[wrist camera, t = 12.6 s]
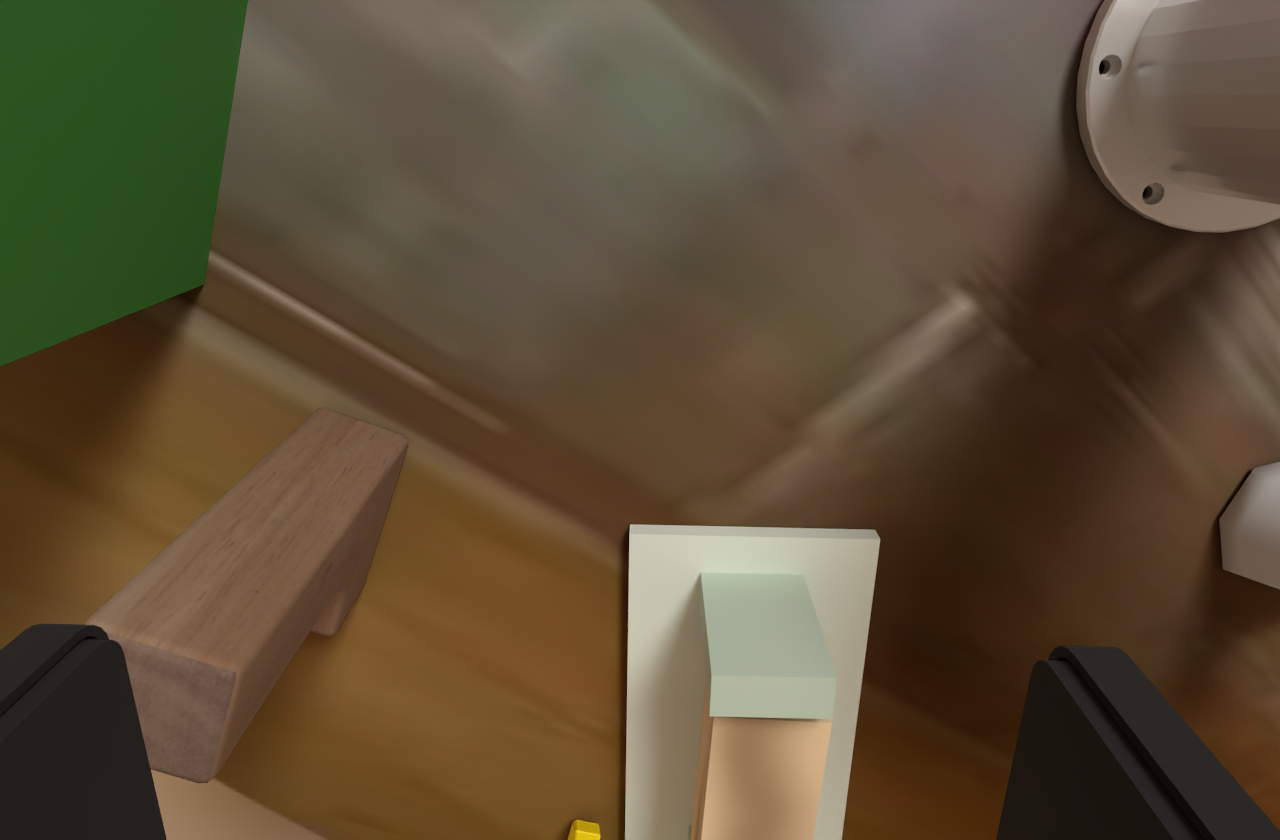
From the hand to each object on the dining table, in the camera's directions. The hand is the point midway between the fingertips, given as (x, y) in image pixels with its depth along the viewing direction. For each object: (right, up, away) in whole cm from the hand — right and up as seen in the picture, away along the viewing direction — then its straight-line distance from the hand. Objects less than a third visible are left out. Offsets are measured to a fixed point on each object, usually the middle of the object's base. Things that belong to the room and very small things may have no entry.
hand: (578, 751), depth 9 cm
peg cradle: (+6, -12, +37) cm, 39 cm away
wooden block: (-14, 0, +33) cm, 36 cm away
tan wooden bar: (+6, -13, +33) cm, 36 cm away
